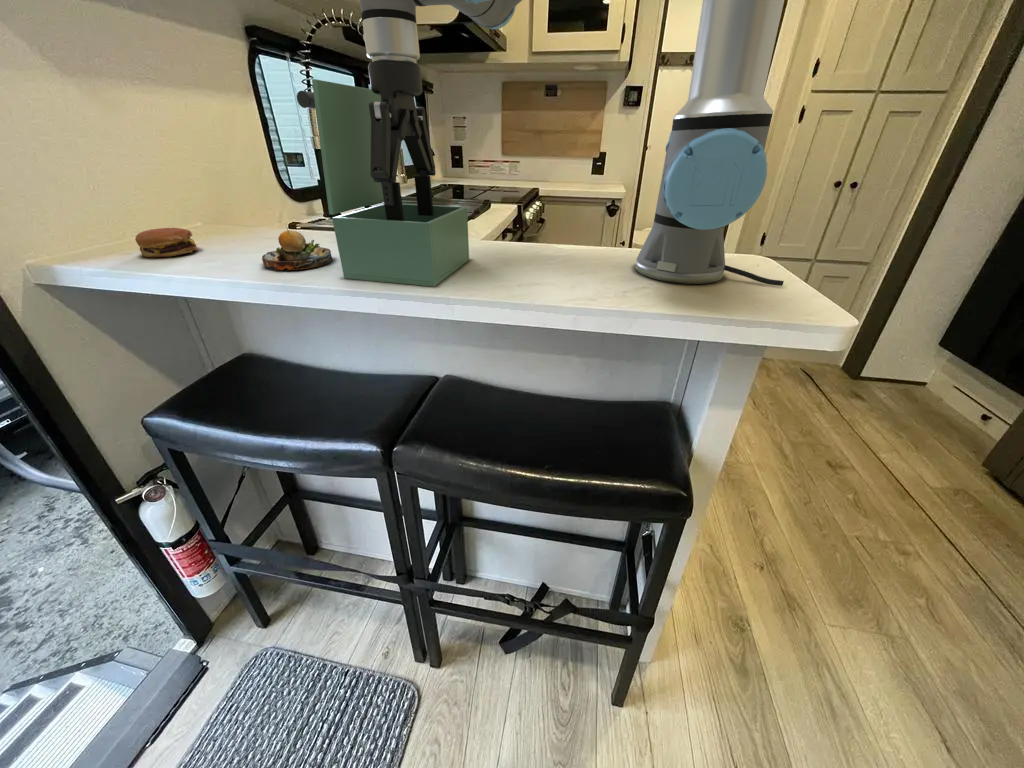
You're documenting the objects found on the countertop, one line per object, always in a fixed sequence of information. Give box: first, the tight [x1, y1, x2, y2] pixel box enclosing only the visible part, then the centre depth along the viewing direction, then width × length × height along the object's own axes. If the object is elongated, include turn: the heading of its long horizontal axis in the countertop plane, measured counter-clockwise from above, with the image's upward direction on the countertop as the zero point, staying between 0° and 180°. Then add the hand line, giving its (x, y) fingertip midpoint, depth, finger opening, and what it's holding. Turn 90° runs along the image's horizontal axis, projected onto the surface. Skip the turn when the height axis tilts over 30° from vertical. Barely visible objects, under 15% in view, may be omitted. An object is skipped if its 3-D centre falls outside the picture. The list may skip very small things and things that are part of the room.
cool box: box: [331, 203, 470, 287], centre depth 74 cm, size 17×18×10 cm
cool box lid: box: [296, 78, 384, 216], centre depth 69 cm, size 17×18×8 cm
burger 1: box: [134, 227, 199, 258], centre depth 82 cm, size 10×9×5 cm
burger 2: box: [261, 224, 334, 271], centre depth 77 cm, size 12×12×8 cm
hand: (412, 220), depth 72 cm, fingers open, 11 cm apart
